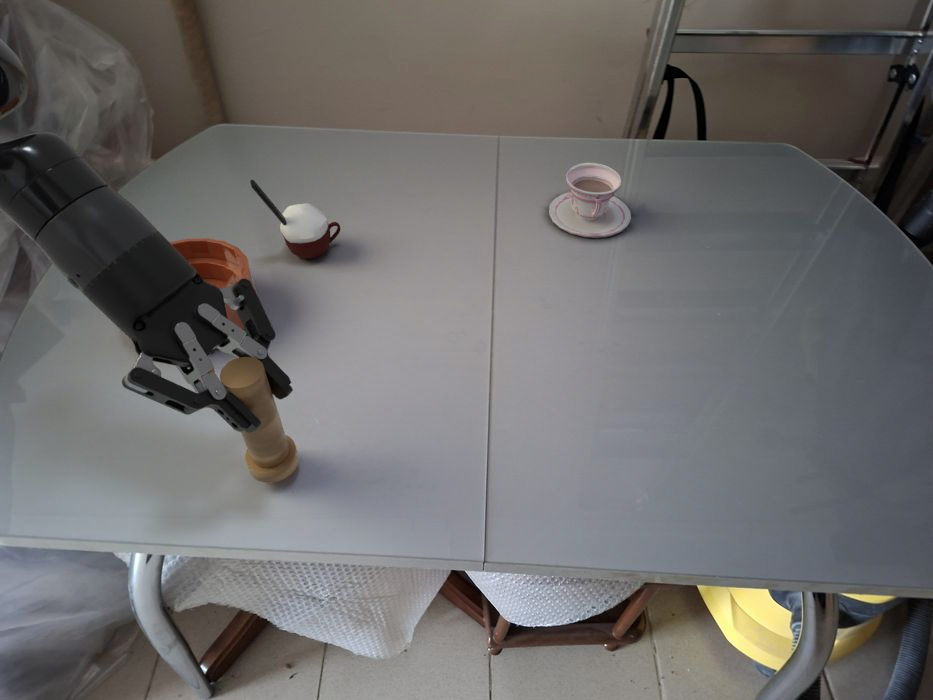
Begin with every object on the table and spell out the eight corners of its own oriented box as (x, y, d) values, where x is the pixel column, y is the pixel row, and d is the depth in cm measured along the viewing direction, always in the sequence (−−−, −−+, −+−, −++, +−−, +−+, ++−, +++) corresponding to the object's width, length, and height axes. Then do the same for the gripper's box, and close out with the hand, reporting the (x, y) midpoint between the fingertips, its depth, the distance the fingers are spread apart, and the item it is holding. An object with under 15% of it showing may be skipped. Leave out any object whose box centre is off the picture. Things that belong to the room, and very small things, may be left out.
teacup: (543, 194, 101) (547, 157, 96) (620, 192, 101) (627, 155, 97) (554, 240, 92) (559, 202, 88) (639, 238, 93) (647, 200, 88)
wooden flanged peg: (262, 491, 62) (227, 402, 52) (240, 459, 64) (202, 368, 55) (307, 465, 64) (281, 374, 55) (284, 434, 66) (255, 343, 57)
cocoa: (344, 238, 92) (332, 161, 84) (337, 266, 88) (324, 187, 79) (277, 237, 92) (258, 160, 84) (267, 265, 88) (246, 186, 80)
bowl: (158, 378, 74) (140, 340, 69) (113, 307, 82) (94, 269, 78) (281, 321, 80) (271, 283, 76) (228, 261, 89) (216, 224, 84)
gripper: (51, 295, 45) (232, 466, 50) (198, 196, 54) (340, 348, 59) (34, 327, 51) (199, 477, 55) (170, 231, 59) (302, 369, 64)
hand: (270, 410), depth 57 cm, fingers closed on wooden flanged peg, 3 cm apart
